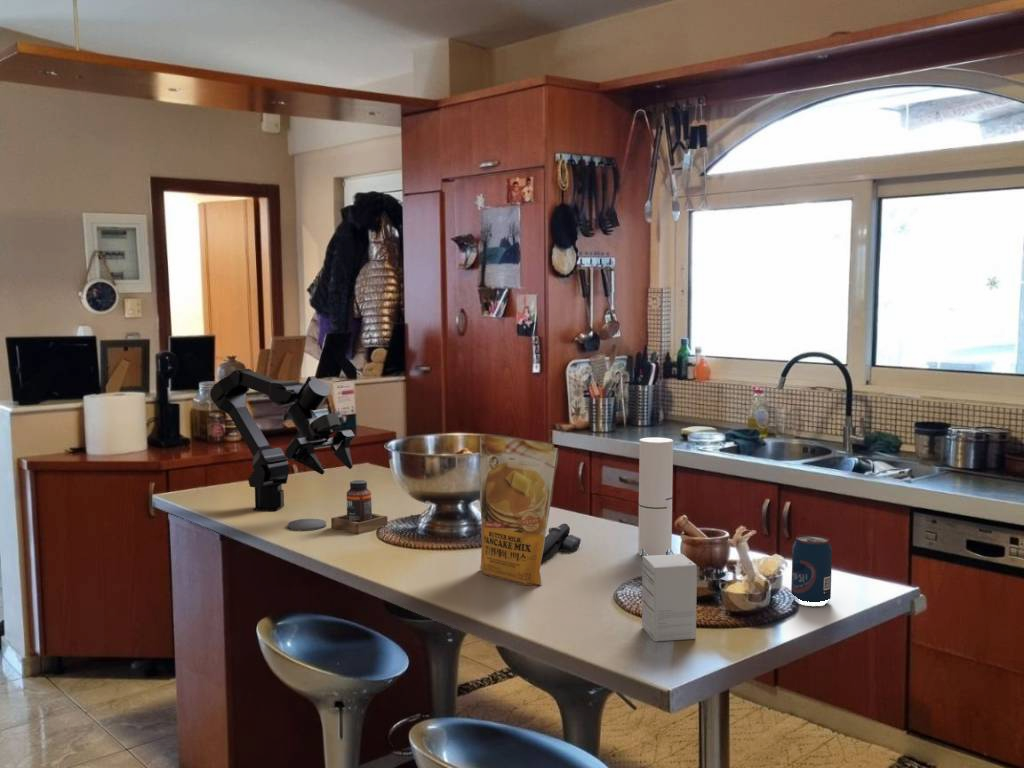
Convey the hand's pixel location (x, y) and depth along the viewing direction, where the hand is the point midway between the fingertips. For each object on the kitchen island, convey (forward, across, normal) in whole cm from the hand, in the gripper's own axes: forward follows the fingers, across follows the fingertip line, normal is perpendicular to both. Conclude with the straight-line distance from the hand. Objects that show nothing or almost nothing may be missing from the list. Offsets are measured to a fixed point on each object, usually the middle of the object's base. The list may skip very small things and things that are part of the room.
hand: (337, 470), depth 241 cm
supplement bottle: (+15, 0, +4) cm, 15 cm away
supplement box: (+82, -20, -63) cm, 105 cm away
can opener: (+51, +9, -32) cm, 61 cm away
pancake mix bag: (+53, -10, -34) cm, 64 cm away
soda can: (+91, +10, -72) cm, 116 cm away
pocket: (+14, 0, +4) cm, 15 cm away
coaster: (+7, -7, +12) cm, 15 cm away
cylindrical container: (+63, +22, -44) cm, 80 cm away
